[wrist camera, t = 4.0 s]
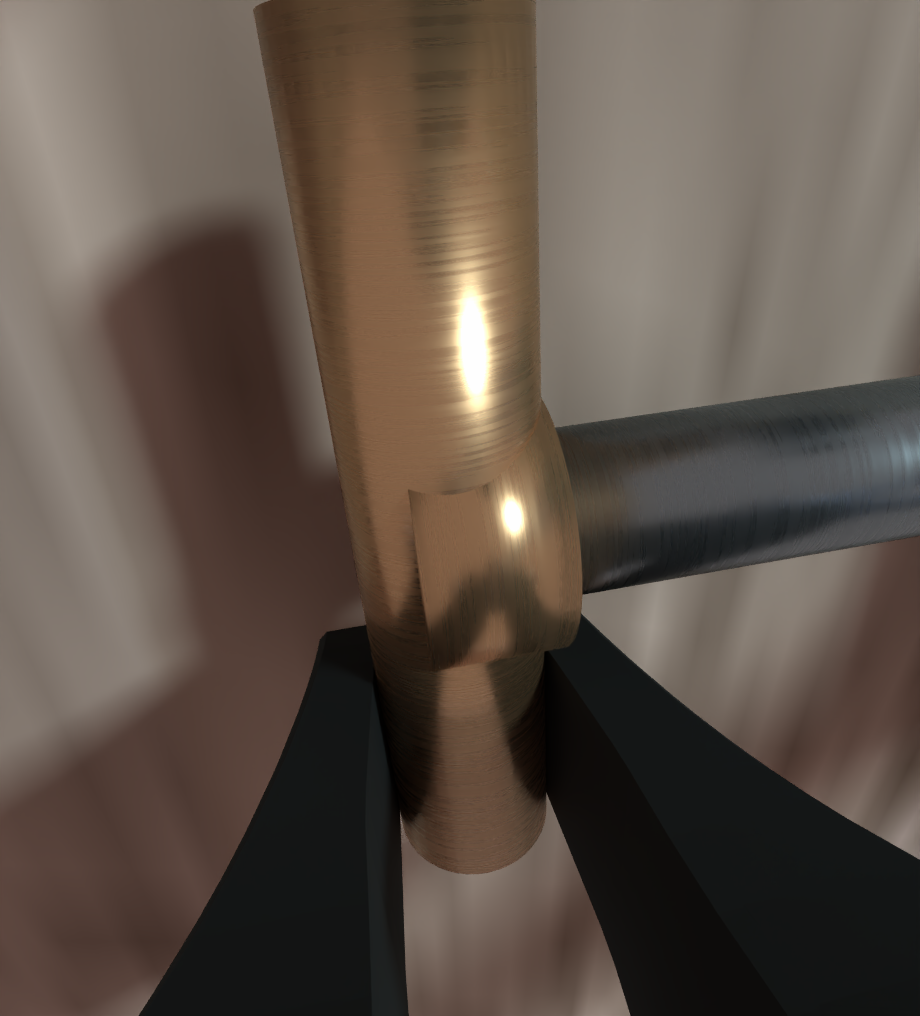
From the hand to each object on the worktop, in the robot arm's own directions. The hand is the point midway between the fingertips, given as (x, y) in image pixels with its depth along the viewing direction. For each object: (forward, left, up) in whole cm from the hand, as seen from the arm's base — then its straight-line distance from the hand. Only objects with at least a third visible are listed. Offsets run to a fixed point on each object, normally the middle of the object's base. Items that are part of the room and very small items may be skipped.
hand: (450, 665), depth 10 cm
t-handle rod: (-6, -3, 0) cm, 7 cm away
